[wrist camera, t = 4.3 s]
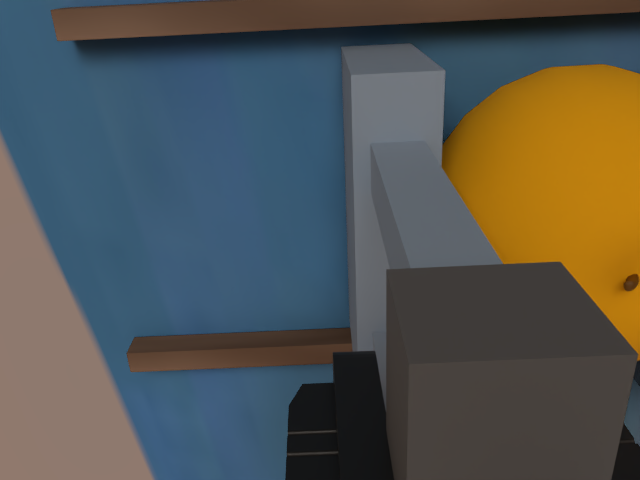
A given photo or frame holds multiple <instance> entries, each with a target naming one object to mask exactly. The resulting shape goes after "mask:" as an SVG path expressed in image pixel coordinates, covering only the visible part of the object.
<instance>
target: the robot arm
mask: <svg viewBox="0 0 640 480" xmlns="http://www.w3.org/2000/svg"><path fill="white" fill-rule="evenodd" d="M285 480H394V476H393V470H392V464H391V457H390V451H389V444H388V438H387V431H386V410H385V404H384V398H383V392H382V386H381V381H380V375H379V369H378V363H377V357H376V353H375V351H352V352H333V383H316V384H302V386H301V387H300V389H299V390H298V392H297V394H296V395H295V397H294V398H293V400H292V402H291V403H290V405H289V415H288V437H287V458H286V479H285ZM611 480H640V446H639V445H638V444H635V442H634V438H633V436H632V435H631V433H630V432H629V430H628V429H627V427H626V426H625V424H624V423H623V428H622V432H621V437H620V441H619V446H618V451H617V455H616V460H615V465H614V469H613V474H612V479H611Z"/></svg>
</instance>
